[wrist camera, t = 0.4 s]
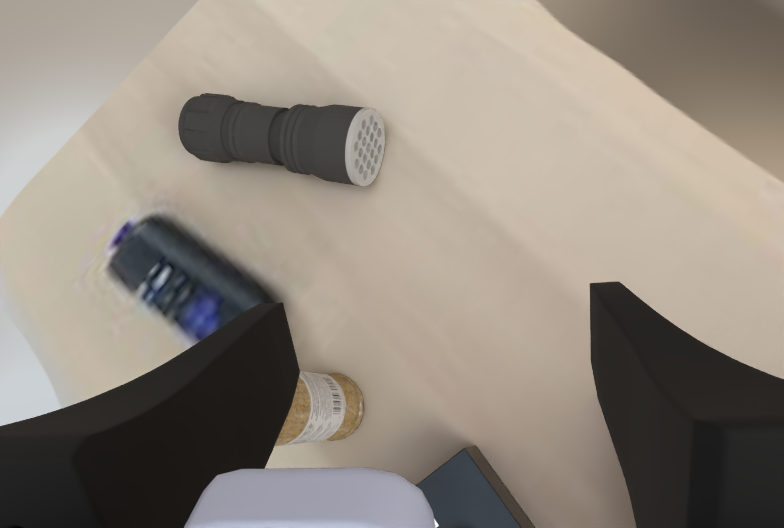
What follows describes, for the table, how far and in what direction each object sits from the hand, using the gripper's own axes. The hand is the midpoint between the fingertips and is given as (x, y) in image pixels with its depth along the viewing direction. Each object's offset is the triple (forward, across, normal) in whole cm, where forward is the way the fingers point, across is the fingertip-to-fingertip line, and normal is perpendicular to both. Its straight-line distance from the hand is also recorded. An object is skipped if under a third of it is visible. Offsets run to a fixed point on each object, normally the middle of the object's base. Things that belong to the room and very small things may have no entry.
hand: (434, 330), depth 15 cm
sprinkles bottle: (+21, +11, +19) cm, 31 cm away
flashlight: (+34, +14, +4) cm, 37 cm away
